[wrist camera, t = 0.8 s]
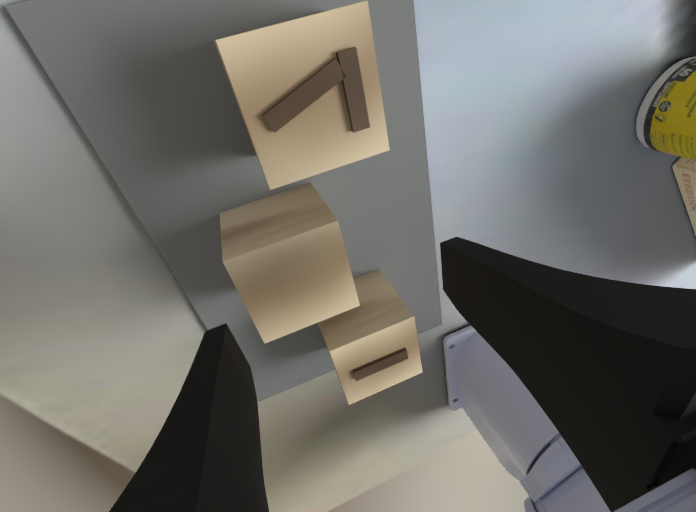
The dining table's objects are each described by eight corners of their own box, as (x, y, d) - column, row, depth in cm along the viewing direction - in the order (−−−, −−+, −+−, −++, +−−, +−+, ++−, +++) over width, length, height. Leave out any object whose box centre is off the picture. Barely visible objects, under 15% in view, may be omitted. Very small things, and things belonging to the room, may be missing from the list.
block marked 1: (389, 321, 24) (424, 375, 20) (327, 347, 23) (350, 408, 19) (379, 269, 21) (416, 318, 18) (308, 296, 21) (330, 354, 17)
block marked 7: (349, 125, 17) (392, 151, 13) (256, 155, 16) (271, 191, 12) (326, 10, 14) (370, -1, 10) (214, 40, 13) (215, 40, 10)
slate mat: (439, 321, 26) (441, 323, 26) (253, 399, 24) (253, 403, 24) (402, -83, 14) (405, -86, 13) (8, 6, 12) (4, 5, 11)
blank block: (332, 256, 20) (360, 305, 16) (254, 285, 19) (264, 343, 16) (310, 182, 17) (337, 220, 14) (219, 213, 17) (222, 261, 13)
